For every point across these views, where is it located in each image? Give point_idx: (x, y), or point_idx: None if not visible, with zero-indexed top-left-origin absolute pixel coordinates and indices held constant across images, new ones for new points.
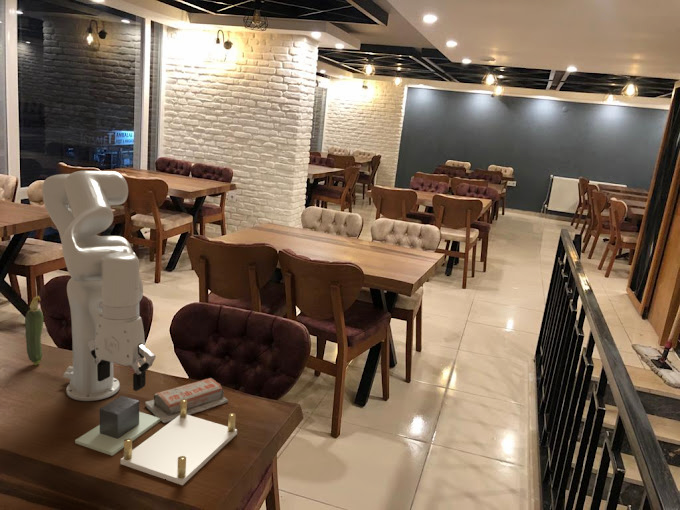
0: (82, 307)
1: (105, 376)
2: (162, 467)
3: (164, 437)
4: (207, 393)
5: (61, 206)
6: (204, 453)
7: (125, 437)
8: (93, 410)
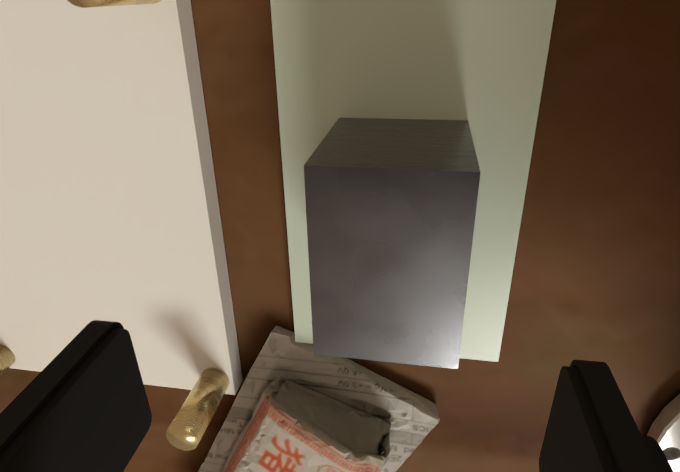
0: None
1: (556, 441)
2: None
3: (150, 215)
4: None
5: None
6: None
7: (314, 146)
8: (663, 299)
